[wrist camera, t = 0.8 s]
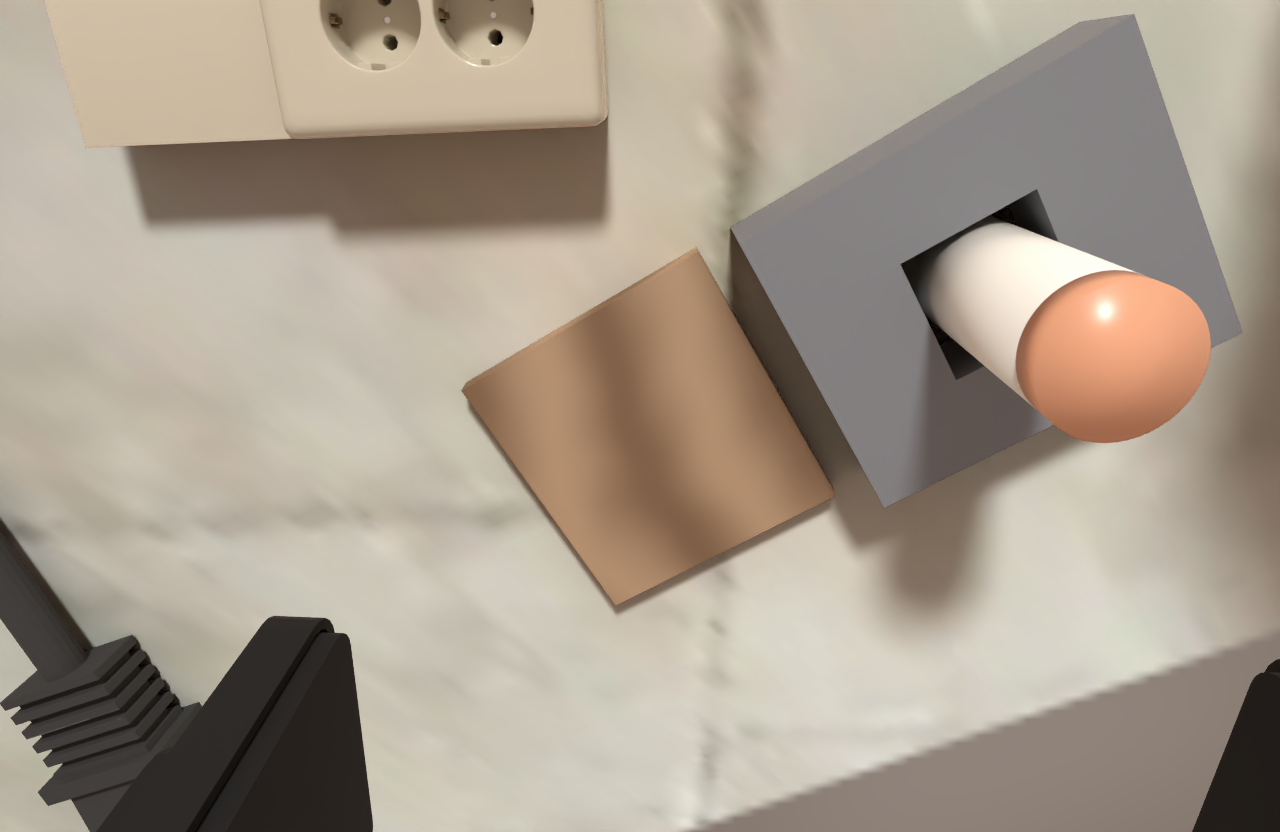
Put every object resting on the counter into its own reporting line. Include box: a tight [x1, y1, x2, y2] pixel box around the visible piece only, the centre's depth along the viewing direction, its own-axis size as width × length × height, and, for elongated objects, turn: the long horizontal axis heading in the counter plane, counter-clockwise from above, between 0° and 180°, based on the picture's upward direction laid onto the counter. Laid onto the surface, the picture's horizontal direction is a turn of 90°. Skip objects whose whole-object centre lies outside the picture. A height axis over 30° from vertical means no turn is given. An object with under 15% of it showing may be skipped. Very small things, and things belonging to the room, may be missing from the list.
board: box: [462, 248, 836, 605], centre depth 35 cm, size 11×12×1 cm
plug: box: [904, 215, 1211, 443], centre depth 27 cm, size 4×4×12 cm
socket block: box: [730, 14, 1243, 508], centre depth 31 cm, size 14×12×4 cm
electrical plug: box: [0, 531, 202, 832], centre depth 37 cm, size 9×42×5 cm, turn 21°
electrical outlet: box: [44, 0, 608, 148], centre depth 28 cm, size 7×4×18 cm
